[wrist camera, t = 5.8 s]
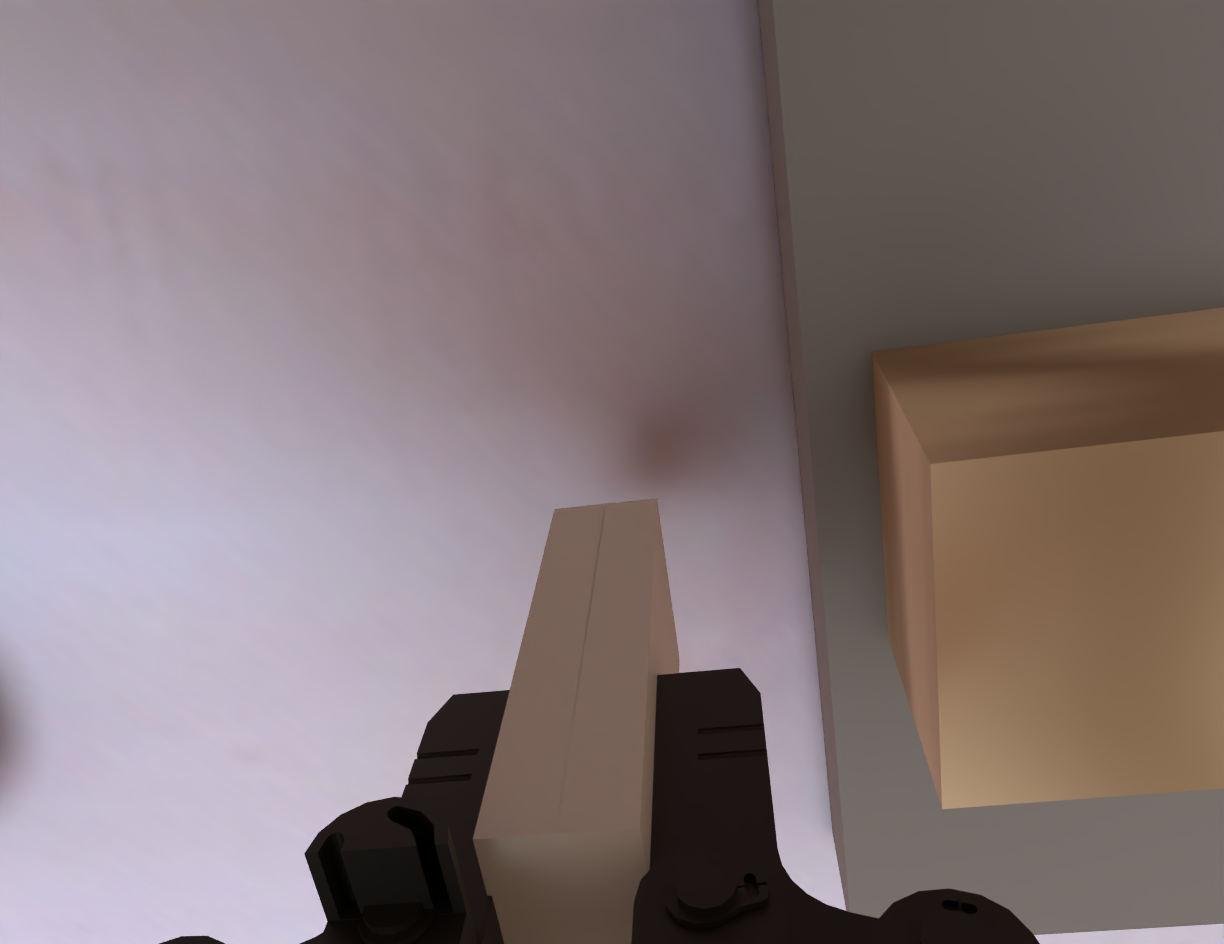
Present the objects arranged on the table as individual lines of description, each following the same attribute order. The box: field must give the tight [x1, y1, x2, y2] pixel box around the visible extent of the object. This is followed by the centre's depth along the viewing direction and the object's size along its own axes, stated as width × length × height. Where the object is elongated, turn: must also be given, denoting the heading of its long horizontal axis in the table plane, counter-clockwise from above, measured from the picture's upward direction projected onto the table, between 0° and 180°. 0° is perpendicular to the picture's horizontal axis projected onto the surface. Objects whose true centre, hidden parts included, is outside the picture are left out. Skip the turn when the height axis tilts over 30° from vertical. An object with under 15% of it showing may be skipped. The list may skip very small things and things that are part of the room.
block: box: [872, 307, 1224, 809], centre depth 14 cm, size 5×5×4 cm
